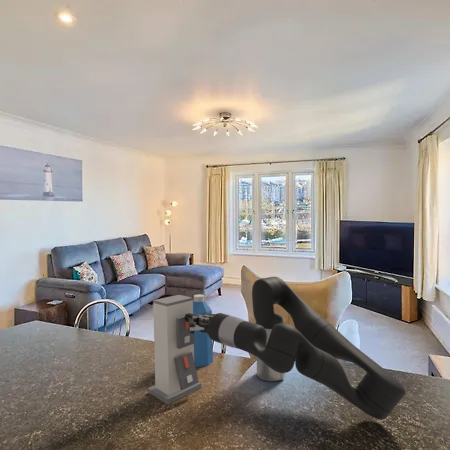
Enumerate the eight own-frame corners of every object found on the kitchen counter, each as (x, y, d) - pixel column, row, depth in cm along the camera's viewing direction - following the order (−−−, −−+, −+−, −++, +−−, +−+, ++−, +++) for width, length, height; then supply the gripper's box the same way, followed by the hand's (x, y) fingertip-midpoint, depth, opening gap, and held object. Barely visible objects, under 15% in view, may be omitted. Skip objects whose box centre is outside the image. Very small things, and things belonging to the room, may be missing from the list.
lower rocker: (180, 389, 97) (174, 358, 99) (196, 382, 102) (189, 352, 103) (183, 390, 96) (177, 358, 98) (199, 382, 101) (192, 352, 102)
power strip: (148, 392, 103) (146, 300, 103) (181, 378, 112) (179, 293, 112) (167, 404, 96) (165, 305, 96) (201, 387, 105) (199, 297, 105)
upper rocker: (176, 348, 98) (176, 317, 98) (192, 342, 103) (191, 313, 102) (179, 349, 97) (179, 319, 97) (195, 343, 102) (194, 314, 101)
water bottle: (214, 356, 129) (213, 292, 129) (211, 367, 120) (209, 298, 120) (190, 356, 130) (189, 292, 130) (185, 366, 121) (184, 298, 121)
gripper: (211, 352, 83) (169, 335, 94) (245, 337, 92) (203, 323, 104) (211, 322, 82) (168, 309, 94) (245, 311, 92) (203, 300, 104)
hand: (186, 316), depth 99 cm, fingers closed
